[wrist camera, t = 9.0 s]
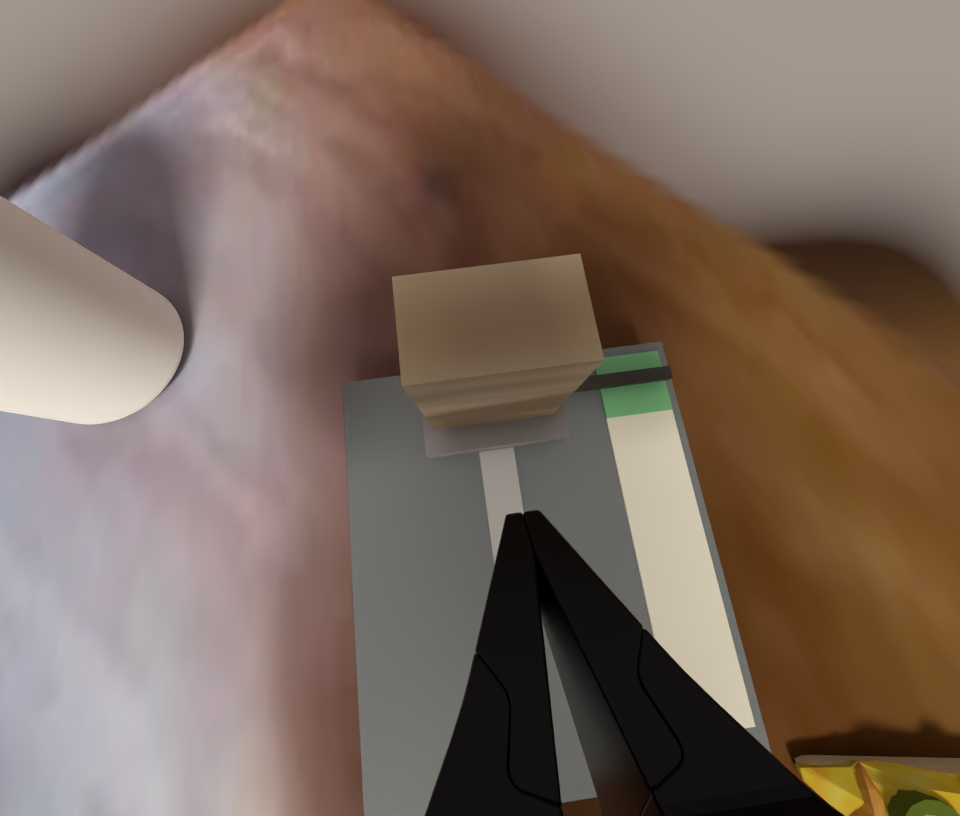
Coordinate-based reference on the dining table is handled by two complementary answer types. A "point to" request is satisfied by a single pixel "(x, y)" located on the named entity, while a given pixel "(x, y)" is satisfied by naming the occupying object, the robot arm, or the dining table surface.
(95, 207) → the dining table surface
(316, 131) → the dining table surface
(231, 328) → the dining table surface
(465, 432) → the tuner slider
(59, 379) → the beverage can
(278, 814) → the dining table surface
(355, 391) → the board
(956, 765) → the pizza slice
